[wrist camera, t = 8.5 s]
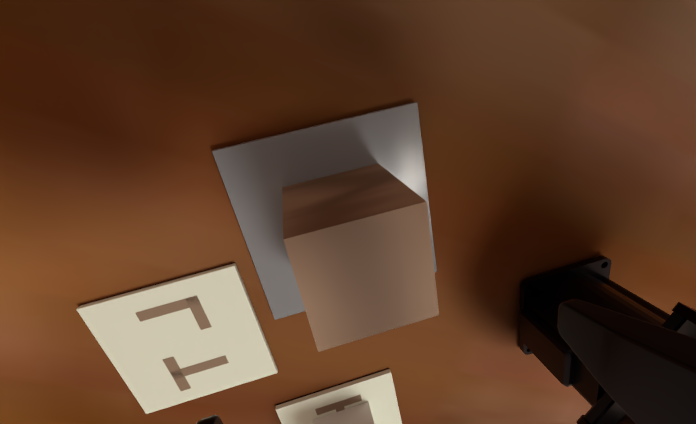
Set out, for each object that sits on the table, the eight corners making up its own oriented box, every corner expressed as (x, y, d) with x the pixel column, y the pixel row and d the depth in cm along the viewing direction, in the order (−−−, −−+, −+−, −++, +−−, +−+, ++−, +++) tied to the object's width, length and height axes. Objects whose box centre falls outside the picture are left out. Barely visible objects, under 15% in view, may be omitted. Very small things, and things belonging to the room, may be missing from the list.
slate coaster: (414, 102, 16) (417, 102, 16) (433, 268, 20) (436, 271, 20) (213, 149, 15) (212, 151, 15) (275, 315, 19) (275, 319, 19)
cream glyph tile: (235, 262, 18) (234, 265, 17) (277, 369, 21) (277, 373, 20) (79, 305, 17) (76, 309, 16) (148, 409, 20) (146, 414, 20)
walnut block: (378, 163, 17) (426, 201, 11) (392, 247, 19) (439, 314, 13) (281, 187, 16) (283, 239, 11) (306, 271, 18) (318, 351, 13)
